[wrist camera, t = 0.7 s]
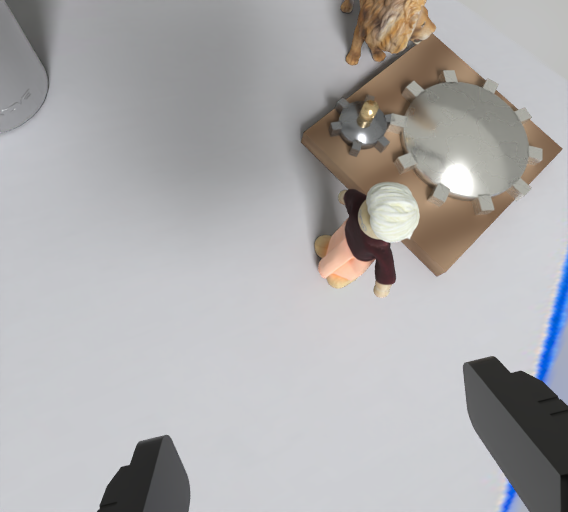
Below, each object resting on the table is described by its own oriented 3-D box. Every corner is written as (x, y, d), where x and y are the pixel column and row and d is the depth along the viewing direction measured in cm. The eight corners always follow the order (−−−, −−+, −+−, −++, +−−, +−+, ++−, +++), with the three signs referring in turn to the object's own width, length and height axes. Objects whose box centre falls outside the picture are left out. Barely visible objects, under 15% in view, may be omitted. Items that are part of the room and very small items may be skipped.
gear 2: (355, 132, 35) (359, 125, 35) (450, 54, 39) (455, 46, 38) (474, 245, 34) (481, 241, 33) (561, 153, 37) (570, 147, 36)
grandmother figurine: (294, 236, 34) (328, 154, 22) (334, 216, 35) (388, 127, 23) (343, 320, 32) (409, 283, 20) (383, 297, 33) (470, 248, 21)
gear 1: (316, 123, 35) (323, 100, 32) (357, 91, 37) (368, 66, 34) (362, 168, 35) (374, 149, 32) (402, 134, 36) (417, 112, 33)
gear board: (301, 142, 36) (303, 132, 35) (424, 44, 41) (431, 32, 40) (436, 276, 34) (445, 271, 33) (550, 157, 39) (562, 148, 37)
